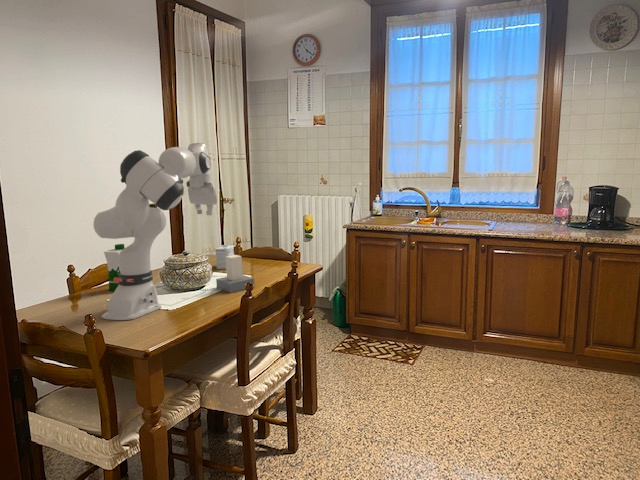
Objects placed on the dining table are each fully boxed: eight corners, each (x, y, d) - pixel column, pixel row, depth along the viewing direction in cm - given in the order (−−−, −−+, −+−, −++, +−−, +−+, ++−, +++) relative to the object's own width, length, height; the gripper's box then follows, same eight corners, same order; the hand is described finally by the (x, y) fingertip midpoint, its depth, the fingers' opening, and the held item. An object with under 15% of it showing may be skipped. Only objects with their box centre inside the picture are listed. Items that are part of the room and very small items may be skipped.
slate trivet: (230, 292, 212) (230, 283, 212) (216, 287, 221) (216, 279, 221) (254, 287, 220) (254, 278, 219) (240, 282, 229) (239, 274, 228)
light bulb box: (223, 264, 269) (221, 244, 268) (235, 264, 268) (233, 244, 267) (216, 269, 259) (214, 248, 257) (228, 269, 258) (227, 248, 256)
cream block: (232, 280, 216) (231, 258, 215) (227, 278, 220) (225, 256, 219) (242, 278, 220) (241, 256, 218) (237, 276, 223) (235, 254, 222)
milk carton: (135, 287, 228) (131, 244, 225) (121, 292, 220) (116, 247, 216) (120, 286, 231) (115, 243, 228) (105, 291, 223) (100, 247, 219)
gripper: (219, 181, 206) (222, 215, 209) (197, 181, 222) (201, 212, 225) (204, 183, 203) (208, 216, 205) (184, 182, 219) (188, 214, 221)
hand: (204, 214), depth 215 cm, fingers open, 8 cm apart
